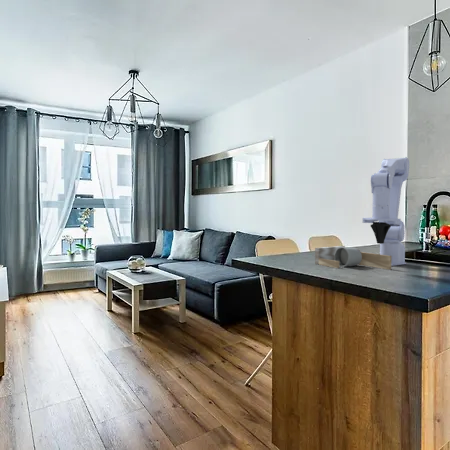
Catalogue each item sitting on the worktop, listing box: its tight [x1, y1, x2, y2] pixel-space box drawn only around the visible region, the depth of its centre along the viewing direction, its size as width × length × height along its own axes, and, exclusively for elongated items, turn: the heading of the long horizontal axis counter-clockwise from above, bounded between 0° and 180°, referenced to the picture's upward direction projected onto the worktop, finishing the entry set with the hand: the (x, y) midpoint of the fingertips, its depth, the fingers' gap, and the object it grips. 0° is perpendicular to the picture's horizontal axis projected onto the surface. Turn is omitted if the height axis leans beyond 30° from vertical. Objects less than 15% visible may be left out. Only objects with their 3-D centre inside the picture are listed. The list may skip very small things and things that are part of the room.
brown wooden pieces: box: [314, 245, 392, 270], centre depth 140 cm, size 15×24×6 cm, turn 30°
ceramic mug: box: [334, 246, 362, 268], centre depth 143 cm, size 11×8×8 cm
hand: (380, 243), depth 131 cm, fingers closed
